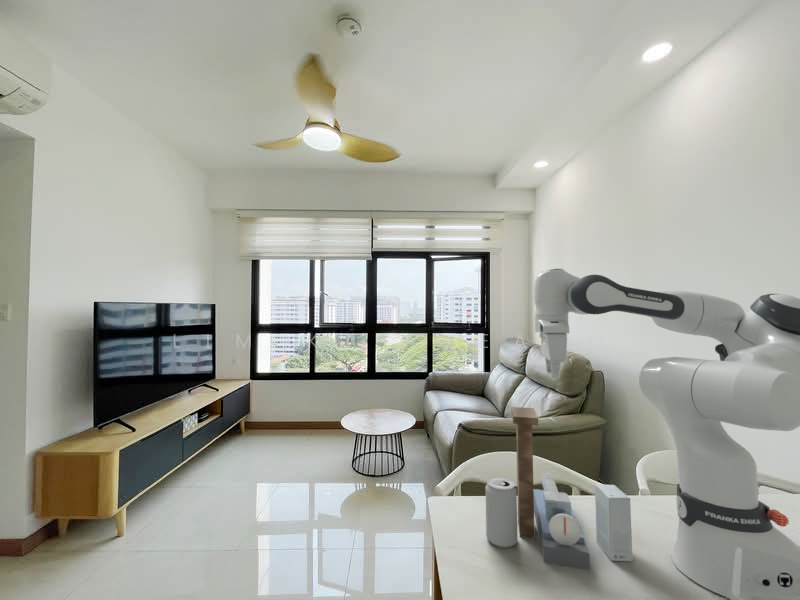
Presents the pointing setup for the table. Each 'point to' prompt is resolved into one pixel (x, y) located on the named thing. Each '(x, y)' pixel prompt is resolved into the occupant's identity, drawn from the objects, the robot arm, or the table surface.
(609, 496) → the skincare box
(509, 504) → the beverage can
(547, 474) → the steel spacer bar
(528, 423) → the walnut post stand
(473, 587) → the table surface
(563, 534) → the platform scale
